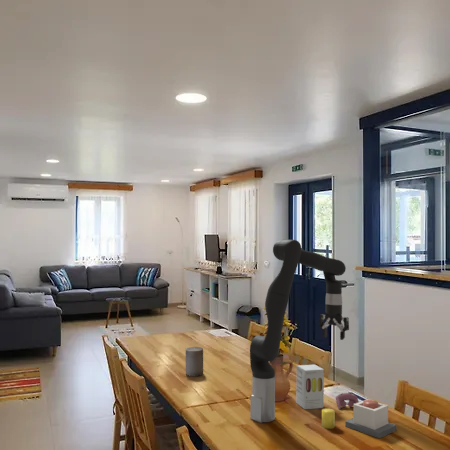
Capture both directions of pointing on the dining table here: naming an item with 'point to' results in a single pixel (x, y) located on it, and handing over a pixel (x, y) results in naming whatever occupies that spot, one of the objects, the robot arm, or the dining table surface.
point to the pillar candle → (194, 361)
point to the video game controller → (346, 396)
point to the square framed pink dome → (371, 420)
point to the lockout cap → (328, 418)
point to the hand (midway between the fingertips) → (333, 338)
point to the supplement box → (310, 386)
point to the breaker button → (370, 404)
